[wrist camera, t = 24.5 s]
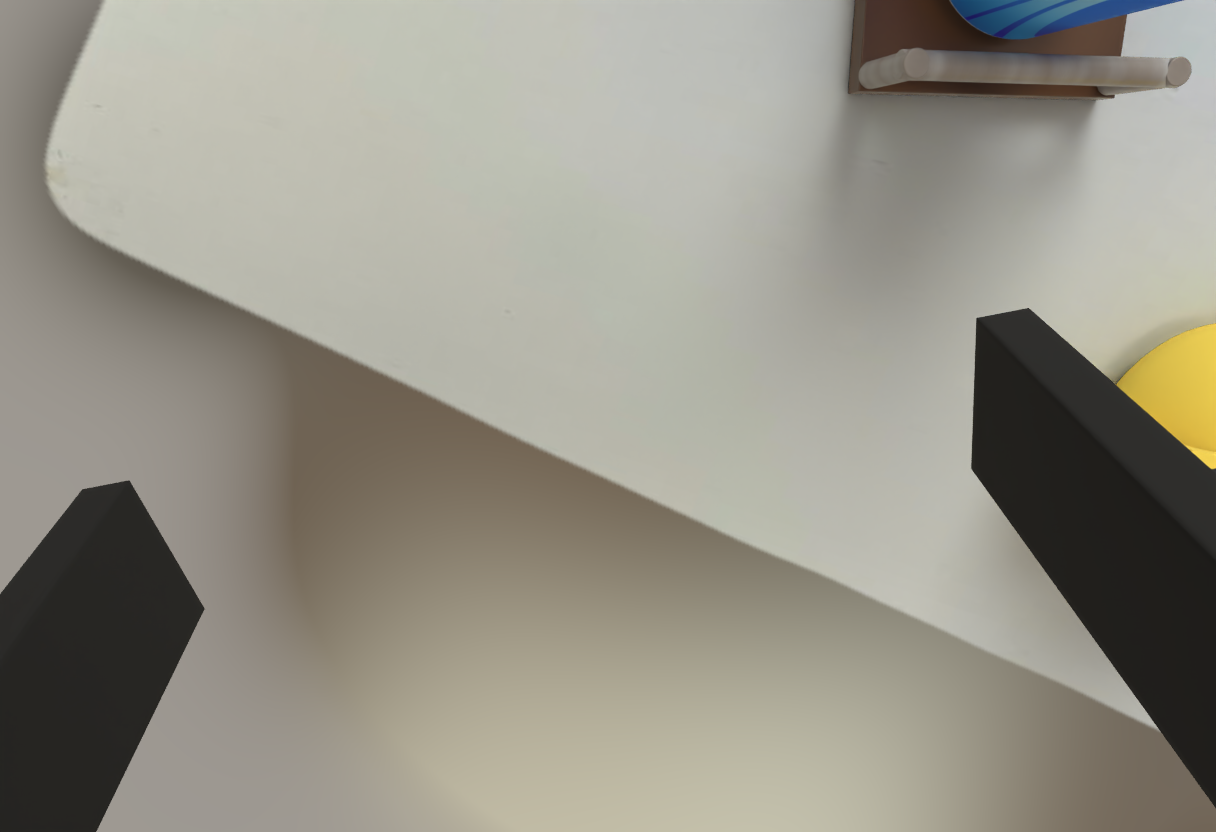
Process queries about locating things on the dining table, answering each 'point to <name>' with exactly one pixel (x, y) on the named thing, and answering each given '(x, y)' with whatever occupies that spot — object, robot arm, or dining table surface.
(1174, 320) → the dining table surface
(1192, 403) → the teapot
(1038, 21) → the beer can
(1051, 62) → the rail rack
